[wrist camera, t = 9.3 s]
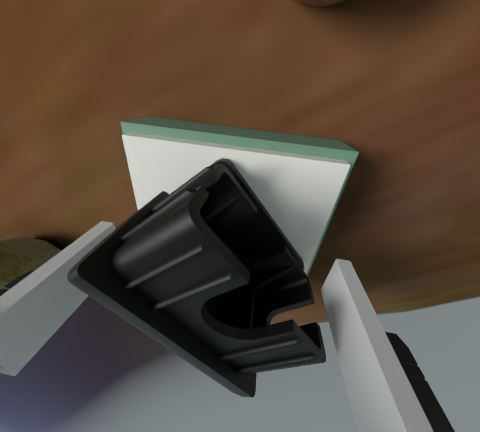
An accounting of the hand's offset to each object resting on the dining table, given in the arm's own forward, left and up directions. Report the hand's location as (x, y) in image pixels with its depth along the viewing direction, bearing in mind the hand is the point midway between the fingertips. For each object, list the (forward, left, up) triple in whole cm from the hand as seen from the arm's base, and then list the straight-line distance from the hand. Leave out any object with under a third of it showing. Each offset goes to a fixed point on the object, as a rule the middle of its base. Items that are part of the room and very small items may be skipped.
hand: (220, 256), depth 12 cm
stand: (0, 0, -6) cm, 6 cm away
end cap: (0, 0, -2) cm, 2 cm away
